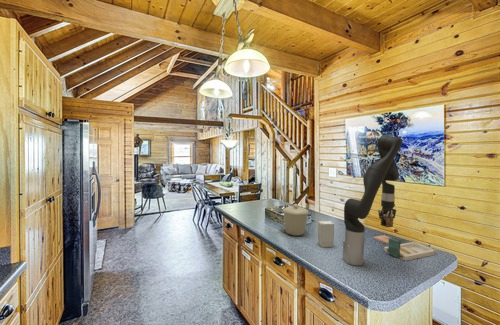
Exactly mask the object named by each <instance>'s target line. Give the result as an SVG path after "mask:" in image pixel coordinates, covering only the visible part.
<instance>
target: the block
mask: <svg viewBox="0 0 500 325" xmlns="http://www.w3.org/2000/svg"><path fill="white" fill-rule="evenodd" d="M381 217H382V216H381ZM384 217H385V216H384ZM380 226H382V227H384V228H393V227H394V218H392V217H389V216H388V217H386V225H385V226H383V225H382V219H380Z"/></svg>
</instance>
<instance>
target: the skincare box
mask: <svg viewBox="0 0 500 325" xmlns="http://www.w3.org/2000/svg"><path fill="white" fill-rule="evenodd" d="M317 223H318V224H317V225H318V227H317V231H318V232H317V244H318V245H319V246H320V248H334V247H335V246H334V245H335V242H334V241H335V223H334V222H333V221H332V220H320V221H319V220H318V222H317Z"/></svg>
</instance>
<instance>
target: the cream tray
mask: <svg viewBox="0 0 500 325" xmlns="http://www.w3.org/2000/svg"><path fill="white" fill-rule="evenodd" d="M404 246H405V247H407V248H410V249H412V250H414V251H417V253H412V254H408V255H403V258H401V257H397V258H398V259H400V260H403V261H405V262H408V261H413V260H417V258H418V259H422V258H425V257H431V256H435V255H437V250H436V249H434V248H432V247H428V246H426V245H423V244H420V243H418V242H414V241H412V242H405V243H400V247H404ZM388 248H389V245H388V246H384V247H383V251H384V252H385V253H388Z"/></svg>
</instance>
